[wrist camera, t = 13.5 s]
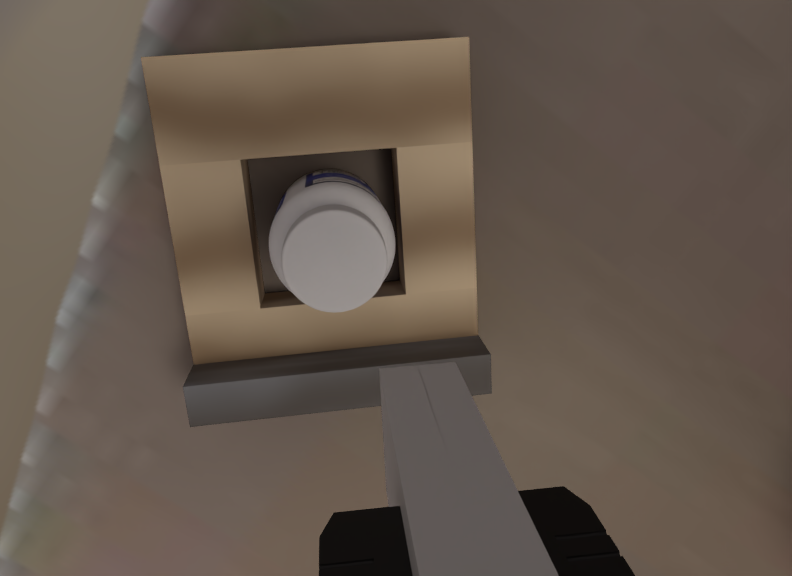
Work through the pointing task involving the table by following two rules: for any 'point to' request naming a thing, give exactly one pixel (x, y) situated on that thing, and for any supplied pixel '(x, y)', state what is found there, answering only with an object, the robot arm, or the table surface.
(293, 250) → the pill bottle
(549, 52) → the table surface
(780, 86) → the table surface
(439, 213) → the jig
